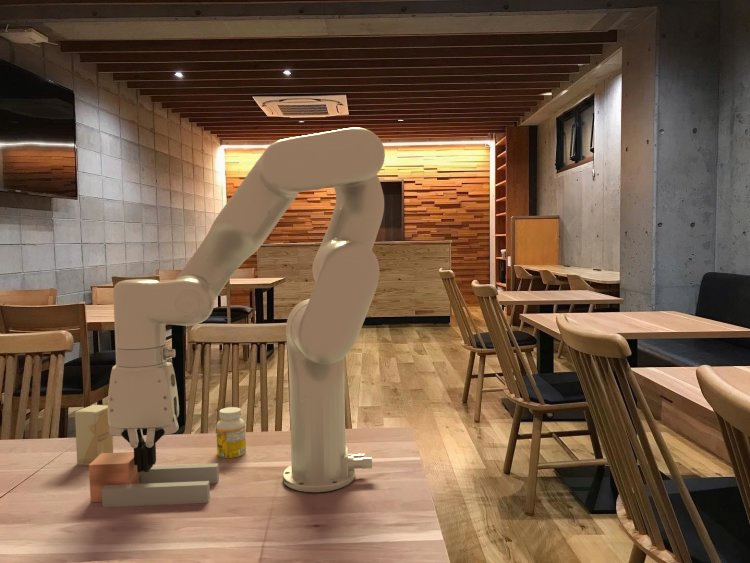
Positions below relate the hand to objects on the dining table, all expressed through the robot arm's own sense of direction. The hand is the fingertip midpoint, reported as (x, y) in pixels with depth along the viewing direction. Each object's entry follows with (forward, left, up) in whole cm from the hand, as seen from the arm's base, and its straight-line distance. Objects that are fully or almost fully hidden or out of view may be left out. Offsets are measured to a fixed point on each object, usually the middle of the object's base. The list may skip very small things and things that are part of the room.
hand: (145, 468), depth 96 cm
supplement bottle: (-11, -17, -6) cm, 21 cm away
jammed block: (+5, 0, -4) cm, 6 cm away
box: (+14, -16, -6) cm, 22 cm away
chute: (+1, 0, -5) cm, 5 cm away
